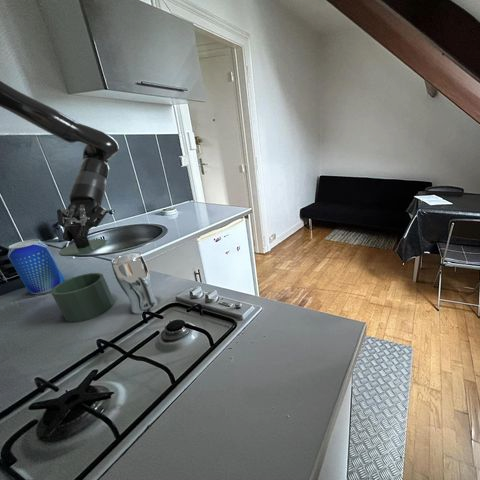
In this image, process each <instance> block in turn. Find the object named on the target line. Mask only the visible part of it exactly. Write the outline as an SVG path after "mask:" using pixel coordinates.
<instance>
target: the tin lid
mask: <svg viewBox="0 0 480 480" xmlns="http://www.w3.org/2000/svg"><path fill="white" fill-rule="evenodd" d="M80 226H81V223H73V222H72V223H71V224H69V225H67V228H68V230H69V232H70V234H71V237H72V239H73V240H72V241H73V243H72V244H69V245H68V246H65V247H63V248H61V249H60V250H59V251H58V255H59V256H60V257H73V256H80V255H84V254H88V253H91V252H94V251H96V250H99V249H101V248H103V247H105V246H106V245H108V240H107V239H105V238H95V239H94V238H93V239H89V238H88V237H87V238H86V239H85V240H82V241H81V240H79V239H77V233H78V230H79V227H80Z"/></svg>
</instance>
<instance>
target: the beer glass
mask: <svg viewBox="0 0 480 480" xmlns="http://www.w3.org/2000/svg"><path fill="white" fill-rule="evenodd" d="M110 264H111V269H112V272H113V274H114V278H115V280H116V281H117V282H116V283H118V285H119V287H120V288H121V290H122V291H123V292H124V294H125V295H126V296H127V298H128V300H129V302H130V308H131V312H132V313H133V314H135V315H141V314H144V313H143V312H146V313H148V312H150V311H153V310H154V309H155V308H156V307H158V304H159V302H158V299H157V298H156V297H155V295H154V293H153V290H152V282H151V275H150V271H149V267H148V265H147V263H146V260H145V258H144V256H143V254H142V253H141V252H128V253H123V254H121V255H118V256H116V257H114V258H112V259H111V260H110Z"/></svg>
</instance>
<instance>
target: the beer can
mask: <svg viewBox="0 0 480 480" xmlns="http://www.w3.org/2000/svg"><path fill="white" fill-rule="evenodd" d="M7 249H8V253H7V257H8V259H9V261H10V262H11V264H12V266H13V268H14V269H15V271H16V273H17V274H18V277H19V278H20V280H21V282H22V283H23V285H24V287H25V289H26V290H27V292H28V293H29V294H32V295H38V296H39V297H40V295H42V296H44V295H46V294H47V295H49V294H50V292H51V291H52V289H53V288H54V287H55V286H56V285H58V284H60V283H62V282H63V281H66V279H65V276H64V275H63V273H62V271H61V269H60V267H59V265H58V264H57V261H56V260H55V257H54V256H53V253H52V251H51V250H50V247H49V246H48V244H46V243H44V242H43V241H41V239H39V238H34V239H26V240H22V241H19V242H15V243H13V244H11V245H9V246H8V247H7Z"/></svg>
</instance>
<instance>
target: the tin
mask: <svg viewBox="0 0 480 480" xmlns="http://www.w3.org/2000/svg"><path fill="white" fill-rule="evenodd" d="M50 292H51V293H50V294H51V295H52V297H53V299H54V301H55V302H56V305H57V306H58V308H59V310H60V312H61V313H62V316H63V317H64V319H65V320H66V321H67V322H69V323H80V322H85V321H88V320H90V319H94V318H96V317H98V316H100V315H102V314H104V313H105V312H107V311H108V310H110V309H111V308H112V307H113V306H114V305H115V300H114V297H113V295H112V292H111V290H110V287H109V285H108V283H107V281H106V278H105V276H104V274H103V273H100V272H90V273H84V274H81V275H77V276H74V277H70V278H68V279H65V281H63V282H62V283H60V284H58V285H56V286H55V287H54V288H53V289H52V291H50Z"/></svg>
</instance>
